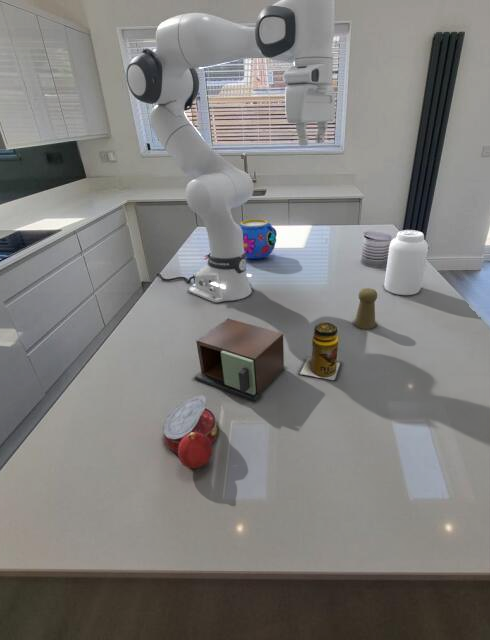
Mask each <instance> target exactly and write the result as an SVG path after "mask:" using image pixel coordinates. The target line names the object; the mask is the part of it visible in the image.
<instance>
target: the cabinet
mask: <svg viewBox="0 0 490 640" xmlns="http://www.w3.org/2000/svg"><path fill="white" fill-rule="evenodd" d="M195 343H196V349H197V354H198V362H199V366H200V372H198V373H197V374H195V375H194V379H195V380H197V381H200V382H201V383H205V384H208V385H210V386H213V387H216V388H218V389H221V390H223V391H225V392H229V393H232V394H234V395H236V396H240V397H242V398H244V399H247V400H250V401H253V402H256V401H257V400H258V399H259V398H260V394H261V393H263V392H264V390H265V389H266V388H267V387H268V386H269V385H270V384H271V383H272V382H273V380H274V379H276V377H277V376H278V375H279V374H281V372H282V371H283V370H284V369H285V354H284V353H285V351H284V350H285V349H284V348H285V347H284V333H282V332H280V331H275V330H272V329H268V328H264V327H262V326H257V325H254V324H250V323H246V322H242V321H238V320H235V319H232V318H227V319H225V320H223V321H222V322H220V323H219V324H218V325H216V326H215V327H213V328H211V329H210V330H209V331H208V332H206V333H205V334H203V335H201V336H200V337H199V338H197V339H196V340H195ZM221 351H226V352H229V353H232V354H235V355H238V356H242V357H245V358H248V359H251V360H253V361H254V375H255V388H256V394H255V395H252V394H249V393H247V392H242V391H240V390H238V389H236V388H233V387H230V386H228V385H225V383H224V375H223V367H222V359H221Z"/></svg>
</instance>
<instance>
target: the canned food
mask: <svg viewBox="0 0 490 640" xmlns="http://www.w3.org/2000/svg"><path fill="white" fill-rule="evenodd" d="M206 406H207V397H206V396H205V395H204V394H200V395H199V394H198V395H195V396H192V397H190V398H188V399H186V400H185V401H183V402H181V403H180V404H179V405H178V406H177V407H175V408H174V409H173V410H172V412H171V413H170V414H169V415H168V416H167V418H166V420H165V421H164V423H163V425H162V433H163V436H164V439H165V444H166V446H167V448H168V449H169V450H171V451H173V452H174V453H177V454H178V448H179V443H180V442H181V440H182V439H183V437H185V436H186V435H187V434H189V433H191V432H199V433H203V434H204V435H205V436H207V437H208V438H209V440H210V442H211V444H213V442H214V441H215V440H216V438H217V434H218V428H217V421H216V415H215V414H214V413H213V412H212V411H211V410H210V409H209V408H207V407H206Z"/></svg>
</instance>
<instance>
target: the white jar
mask: <svg viewBox="0 0 490 640" xmlns="http://www.w3.org/2000/svg"><path fill="white" fill-rule="evenodd" d="M428 251H429V244H428V242H427V240H425V235H424V233H423V232H422V231H419V230H415V229H404V230H400V231H398V232H397V233H396V237H393V238H392V239H391V243H390V246H389V253H388V261H387V266H386V268H385V269H386V270H385V275H384V284H383V285H384V286H383V287H384V289H385V290H386V291H387V292H389V293H392V294H394V295H399V296H412V295H416V294H418V293H419V292H420V291H421V289H422V285H423V278H424V273H425V267H426V263H427V257H428Z"/></svg>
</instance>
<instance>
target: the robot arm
mask: <svg viewBox="0 0 490 640" xmlns="http://www.w3.org/2000/svg"><path fill="white" fill-rule="evenodd" d="M335 11H336V10H335V0H278V1H277V2H275V3H273V4H272V5H268V6H265V7H264V8H263V9H262V10H261V12H260V13H259V14H258V16H257V19H256V23H255V26H247V25H243V24H239V23H236V22H233V21H230V20H228V19H225V18H223V17H219V16H216V15H212V14H209V13H203V12H189V13H182V14H178V15H175V16H172V17H170V18H167V19H165V20H164V21H162V22H161V23H160V24H159V25H158V26H157V28H156V31H155V48H154V49H153V50H152V49H150V48H147V47H145V48H144V49H142V51H141V52H140V53H139V54H138V55H136V56H135V57H134V58H132V59H131V60H130V61H129V63H128V65H127V68H126V73H125V74H126V75H125V76H126V77H125V78H126V83H127V86H128V89H129V91H130V93H131V94H132V96H133V97H134V98H135V99H137V100H138V101H140V102H142V103H145V104H149V105H153V107H152V109H151V110H150V113H149V118H148V119H149V120H148V121H149V124H150V125H149V126H151V129H152V130H153V133H154V134H155V135H156V138H157V139H158V141H159V143H160V144H161V146H163V149H164V150H165V151H166V152H167V154H168V155H169V156H170V157H171V159H172V160H173V161H174V163H175V164H176V165H177V166H178V168H179V169H180V170H181V171H182V172H183V173H184V174H186V175H187V176H190V177H192V178H194V179H192V180H190V181H189V182H188V183H187V185H186V187H185V192H184V193H185V201H186V204H187V205H188V207H189V208H190V210H191V211H192V212H194V213H195V214H197V216H199V218H200V219H201V221H202V222H203V224H204V226H205V228H206V232H207V237H208V243H209V250H210V252H209V253H208V254H206V255H204V260H207V259H208V260H207V263H206V264H205V265H204V266H203V267H202V268H201V269H199V270H198V271H197V272H196V273H194V274H193V275H192V276H190V277H189V278H187V277H185V276H177V277H173V278H165V277H163V276H162V274H161V273H160V272H158V273H157V274H156V277H159V278H160V279H161V280H163V281H165V282H170V281H171V282H172V281H176V280H182V279H183V280H185V281H186V283H191V281H192V280H193V283H194V284H192V285H191V286H190V287H189V289H188V292H189V293H190V294H193V295H195V296H198V297H200V298H202V299H205V300H208V301H209V302H212V303H216V304H217V303H221V302H228V301H229V302H230V301H231V302H232V301H238V300H242V299H245V298H247V297H248V296H250V295H251V294H252V291H253V290H252V287H251V284H250V282H249V278H251V277H252V274H251V273H247V257H246V254H245V252H244V244H243V231H242V228H241V227H240V226H239V224H238V223H237V222H236V221H235V220H234V217H233V215H232V209H235V208H238V207H240V206H243V205H244V204H246V203H247V202H248V201H249V200H251V198H252V197H253V194H254V189H255V187H254V182H253V179H252V178H251V176H250V175H249V174H248V173H247V172H246V171H244V170H241V169H240V168H237V167H235V166H234V165H232V163H230V162H229V161H227V160H226V159H225V158H224V157H222V156H221V155H220V154H219V153H217V151H215V150H214V149H213V148H212V147H211V146H210V144H209V143H208V142H207V140H206V139H205V138H204V137H203V136H202V135H201V133H200V132H199V131H198V129H197V128H196V127H195V125H193V123H192V122H191V121H190V119H189V118H188V117H187V115H186V113H185V112H186V111H189V110H190V109H192V107H193V104H194V101H195V100H196V98H197V96H198V93H199V90H200V78H199V74H198V72H197V70H196V69H204V68H211V67H216V66H219V65H223V64H227V63H233V62H237V61H241V60H246V59H270V60H272V61H277V62H282V63H288V64H292V65H293V66H291V67H290V68H289V69H287V70H285V72H284V73H283V83H284V84H285V85H286V86H285V88H284V89H285V90H284V106H285V118H286V121H287V123H288V124H295V130H296V133H297V136H298V145H299V146H308V145H309V136H308V135H307V128H308V124H312V123H316V127H317V132H316V135H315V143H316V144H324V143H325V136H326V132H327V129H328V123H329V122H330V123H331V122H334V121H335V118H336V92H335V88H334V87H333V78H334V77H333V75H334V70H333V69H334V54H333V41H334V37H335V21H336V20H335V19H336V17H335V15H336V14H335V13H336V12H335ZM159 275H160V276H159Z"/></svg>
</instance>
